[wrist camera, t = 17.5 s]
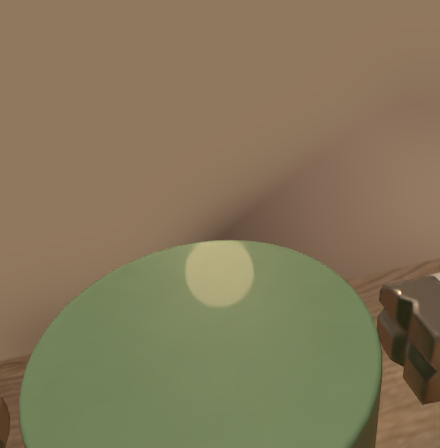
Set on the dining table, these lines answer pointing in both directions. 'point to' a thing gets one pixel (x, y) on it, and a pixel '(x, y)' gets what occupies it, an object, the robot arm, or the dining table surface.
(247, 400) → the green stacking piece
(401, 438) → the dining table surface
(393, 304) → the robot arm
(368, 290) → the dining table surface
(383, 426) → the dining table surface
